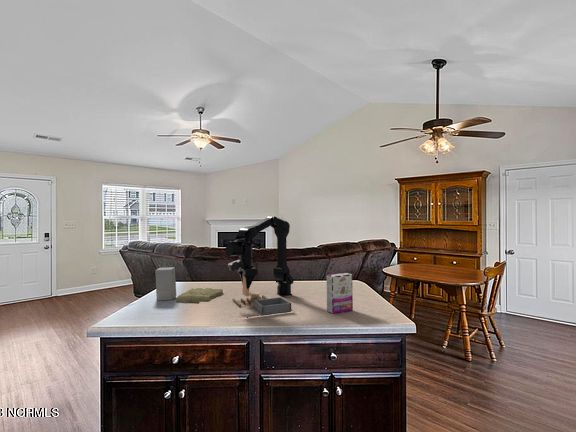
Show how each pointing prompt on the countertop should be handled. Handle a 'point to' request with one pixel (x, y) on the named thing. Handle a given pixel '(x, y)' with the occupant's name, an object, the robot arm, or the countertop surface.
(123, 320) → the countertop surface
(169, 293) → the skincare box
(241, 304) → the rack
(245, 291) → the slat
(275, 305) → the tray
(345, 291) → the candy bar box
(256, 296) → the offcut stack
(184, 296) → the decorative tile
